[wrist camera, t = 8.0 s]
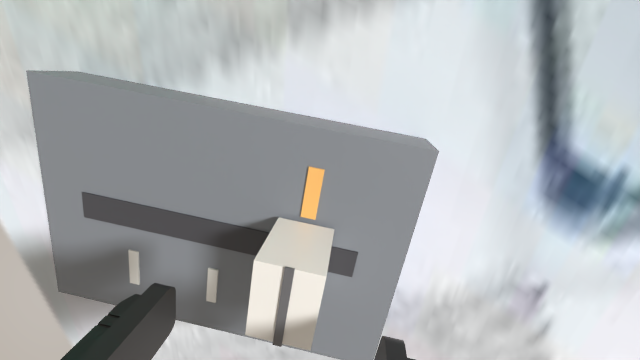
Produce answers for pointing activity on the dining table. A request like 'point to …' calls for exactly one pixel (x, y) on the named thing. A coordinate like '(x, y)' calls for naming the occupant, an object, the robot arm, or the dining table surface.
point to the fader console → (221, 200)
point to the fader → (289, 283)
